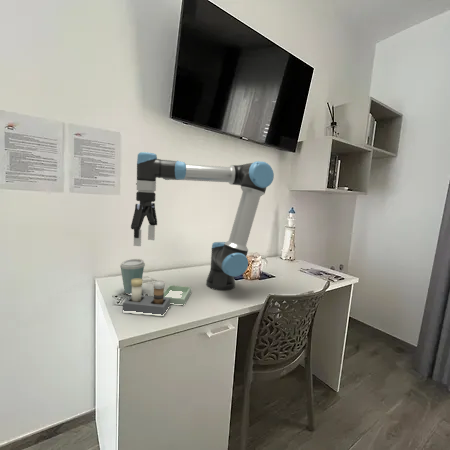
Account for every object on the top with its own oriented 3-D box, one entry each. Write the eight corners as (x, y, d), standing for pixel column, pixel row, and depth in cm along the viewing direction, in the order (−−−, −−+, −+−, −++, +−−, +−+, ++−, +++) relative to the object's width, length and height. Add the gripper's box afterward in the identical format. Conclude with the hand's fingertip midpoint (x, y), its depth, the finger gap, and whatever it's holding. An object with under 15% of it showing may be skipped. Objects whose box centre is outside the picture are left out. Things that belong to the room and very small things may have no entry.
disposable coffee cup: (129, 299, 113) (130, 265, 111) (114, 293, 119) (114, 260, 117) (148, 292, 122) (150, 261, 120) (133, 286, 128) (134, 256, 126)
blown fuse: (164, 309, 106) (166, 280, 105) (161, 314, 102) (162, 284, 101) (154, 308, 107) (155, 279, 105) (151, 312, 102) (152, 283, 101)
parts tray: (190, 293, 125) (191, 287, 124) (183, 306, 110) (184, 299, 110) (169, 290, 126) (169, 284, 125) (159, 303, 111) (159, 296, 111)
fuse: (143, 307, 107) (144, 278, 106) (139, 311, 103) (140, 282, 101) (133, 306, 107) (134, 277, 106) (128, 310, 103) (129, 281, 102)
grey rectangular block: (169, 307, 109) (170, 297, 108) (163, 317, 100) (163, 307, 99) (132, 303, 110) (132, 294, 109) (122, 312, 101) (122, 303, 100)
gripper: (149, 191, 120) (148, 237, 122) (121, 190, 95) (120, 247, 98) (165, 192, 119) (163, 238, 121) (141, 192, 94) (140, 249, 97)
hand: (144, 242), depth 110 cm, fingers open, 13 cm apart
